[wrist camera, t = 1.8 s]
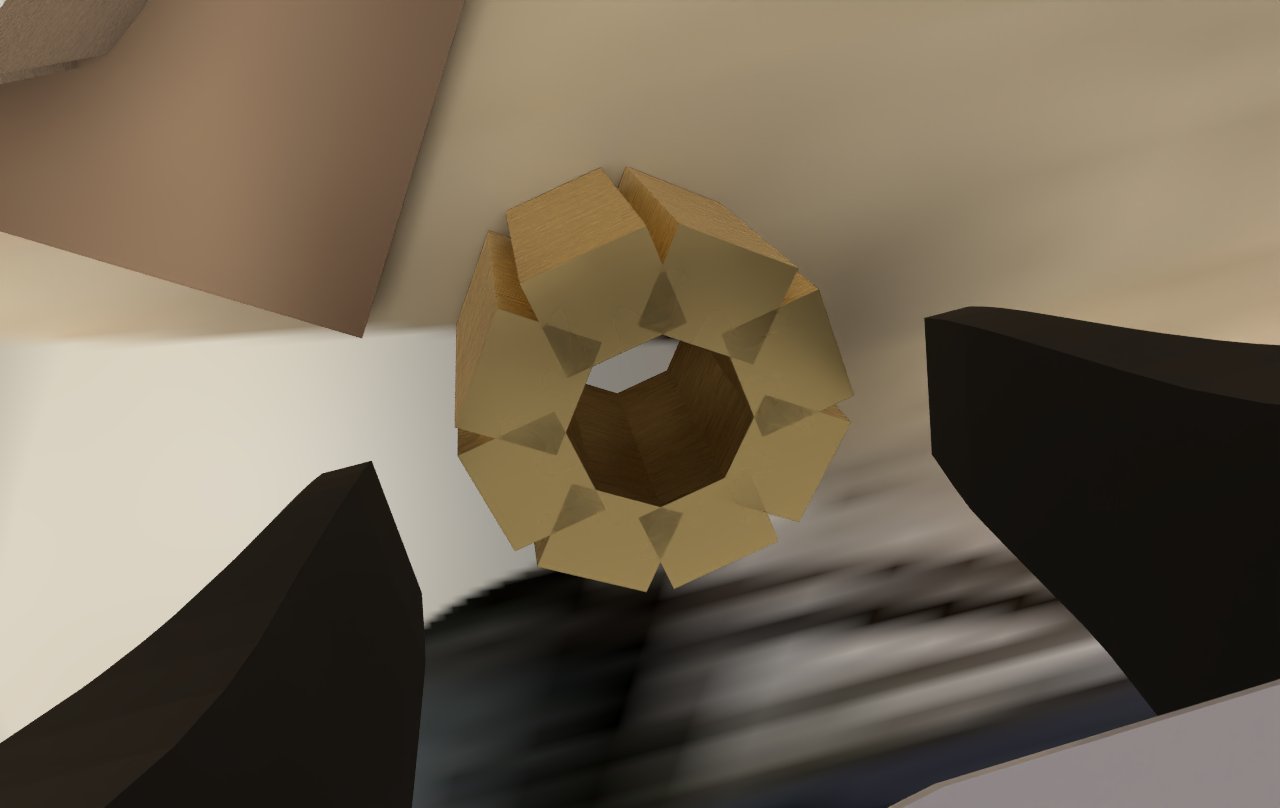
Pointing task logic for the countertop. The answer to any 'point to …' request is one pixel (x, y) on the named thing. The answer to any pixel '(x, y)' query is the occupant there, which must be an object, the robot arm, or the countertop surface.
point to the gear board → (234, 147)
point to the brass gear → (656, 408)
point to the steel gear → (59, 33)
